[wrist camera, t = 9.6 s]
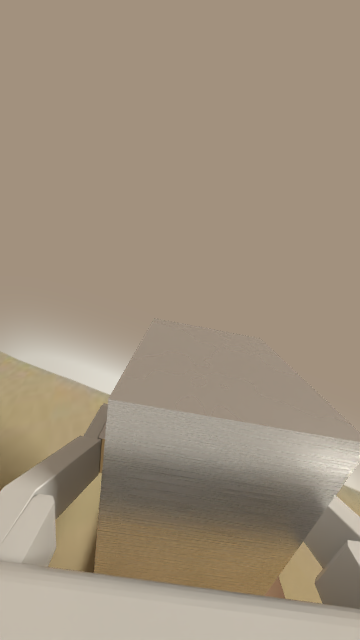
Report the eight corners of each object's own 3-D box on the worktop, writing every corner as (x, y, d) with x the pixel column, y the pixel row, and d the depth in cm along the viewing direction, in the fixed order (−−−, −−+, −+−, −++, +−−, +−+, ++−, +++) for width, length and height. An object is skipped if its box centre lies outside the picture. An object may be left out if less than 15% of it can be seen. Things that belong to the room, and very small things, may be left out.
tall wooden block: (89, 620, 6) (108, 398, 3) (132, 460, 11) (154, 318, 8) (234, 637, 6) (372, 444, 4) (212, 473, 12) (260, 338, 9)
